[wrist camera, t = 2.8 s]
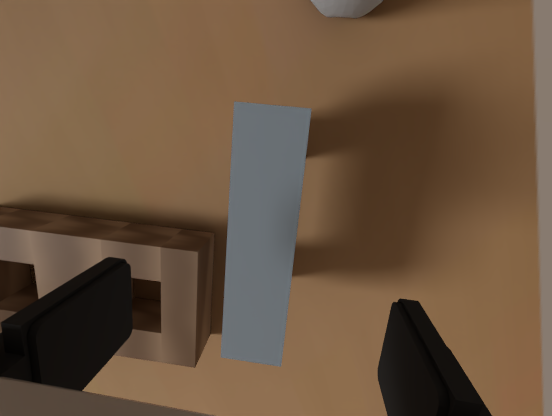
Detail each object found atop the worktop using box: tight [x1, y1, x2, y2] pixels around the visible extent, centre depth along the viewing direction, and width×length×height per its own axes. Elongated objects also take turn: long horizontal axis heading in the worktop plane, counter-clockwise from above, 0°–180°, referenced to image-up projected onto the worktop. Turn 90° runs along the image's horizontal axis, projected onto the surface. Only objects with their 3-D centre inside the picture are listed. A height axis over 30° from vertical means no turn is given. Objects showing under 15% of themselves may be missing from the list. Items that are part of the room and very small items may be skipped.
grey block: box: [221, 102, 311, 367], centre depth 20 cm, size 14×4×9 cm, turn 174°
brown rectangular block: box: [0, 207, 214, 368], centre depth 25 cm, size 20×10×4 cm, turn 84°
